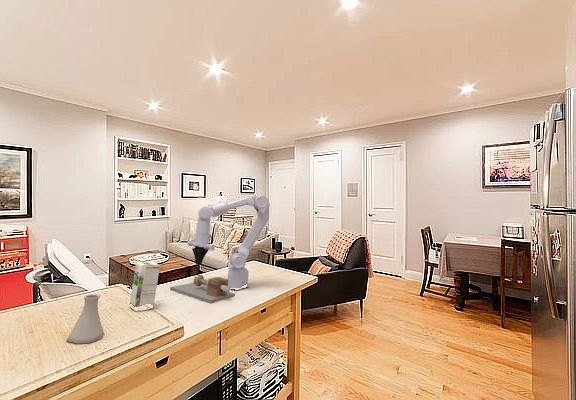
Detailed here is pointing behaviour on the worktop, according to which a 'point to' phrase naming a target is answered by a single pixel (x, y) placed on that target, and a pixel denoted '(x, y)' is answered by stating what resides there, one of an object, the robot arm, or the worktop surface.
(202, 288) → the base board
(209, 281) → the block
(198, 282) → the shaft
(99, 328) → the flask
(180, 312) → the worktop surface
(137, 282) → the syrup box
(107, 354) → the worktop surface
